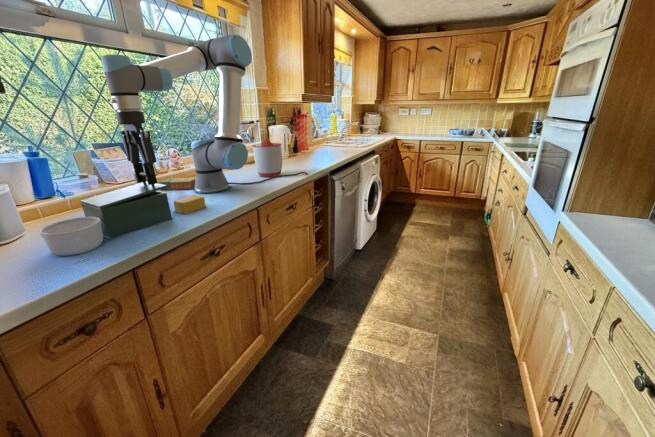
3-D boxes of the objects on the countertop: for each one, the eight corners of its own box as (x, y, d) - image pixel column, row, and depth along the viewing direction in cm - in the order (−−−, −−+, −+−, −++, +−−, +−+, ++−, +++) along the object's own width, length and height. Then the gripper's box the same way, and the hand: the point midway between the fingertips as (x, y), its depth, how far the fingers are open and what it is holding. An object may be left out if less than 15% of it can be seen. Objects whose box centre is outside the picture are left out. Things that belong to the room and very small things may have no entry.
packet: (196, 204, 120) (194, 195, 119) (205, 206, 117) (204, 196, 116) (175, 211, 113) (173, 201, 112) (184, 213, 110) (182, 203, 109)
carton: (192, 189, 144) (190, 180, 143) (159, 190, 145) (157, 181, 143) (199, 185, 152) (198, 176, 151) (168, 186, 153) (166, 177, 151)
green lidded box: (151, 213, 112) (145, 188, 109) (172, 218, 105) (166, 192, 102) (90, 231, 96) (80, 203, 93) (110, 239, 90) (100, 209, 86)
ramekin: (113, 245, 85) (106, 222, 83) (52, 263, 76) (42, 238, 73) (100, 234, 93) (94, 213, 91) (44, 249, 84) (35, 226, 82)
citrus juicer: (268, 171, 181) (264, 137, 174) (289, 174, 171) (286, 137, 164) (247, 176, 169) (243, 139, 162) (269, 179, 159) (266, 140, 152)
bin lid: (146, 183, 109) (141, 168, 106) (167, 187, 102) (162, 171, 100) (81, 202, 93) (73, 185, 91) (100, 209, 86) (93, 190, 84)
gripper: (101, 112, 96) (121, 182, 104) (132, 110, 86) (151, 188, 95) (126, 111, 102) (143, 178, 110) (157, 109, 92) (174, 183, 101)
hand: (147, 182), depth 102 cm, fingers closed on bin lid, 6 cm apart
